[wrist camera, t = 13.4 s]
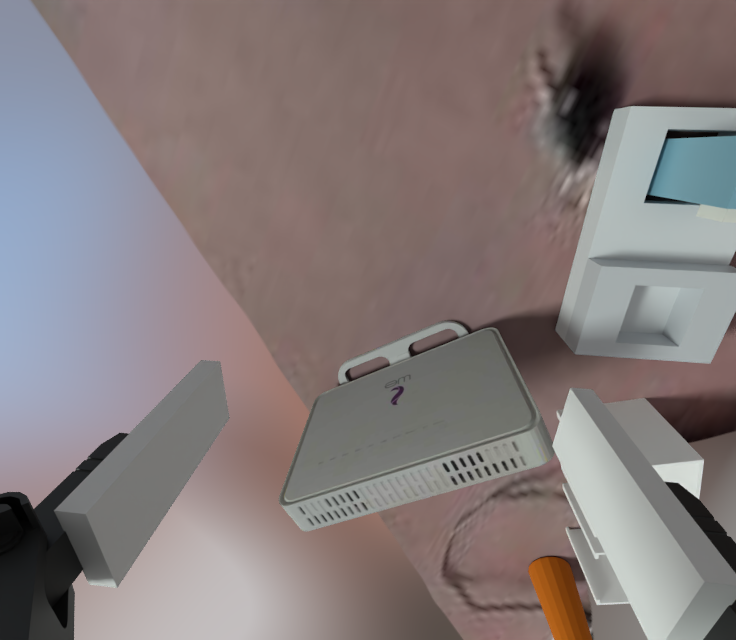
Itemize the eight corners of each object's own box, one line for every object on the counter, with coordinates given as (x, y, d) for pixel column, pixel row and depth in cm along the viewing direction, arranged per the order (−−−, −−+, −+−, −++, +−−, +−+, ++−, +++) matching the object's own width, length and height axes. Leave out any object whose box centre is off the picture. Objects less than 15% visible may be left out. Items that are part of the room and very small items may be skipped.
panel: (614, 109, 36) (651, 102, 30) (768, 112, 35) (835, 105, 29) (554, 330, 46) (574, 354, 41) (673, 337, 45) (710, 363, 40)
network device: (485, 302, 45) (537, 403, 27) (509, 358, 48) (571, 483, 30) (311, 375, 52) (260, 494, 34) (341, 420, 55) (309, 552, 37)
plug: (653, 139, 37) (757, 134, 26) (706, 140, 36) (835, 136, 25) (632, 204, 39) (719, 224, 28) (682, 206, 39) (789, 227, 28)
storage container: (639, 524, 59) (686, 600, 49) (565, 530, 61) (596, 604, 51) (643, 397, 49) (704, 459, 39) (556, 409, 51) (592, 471, 41)
